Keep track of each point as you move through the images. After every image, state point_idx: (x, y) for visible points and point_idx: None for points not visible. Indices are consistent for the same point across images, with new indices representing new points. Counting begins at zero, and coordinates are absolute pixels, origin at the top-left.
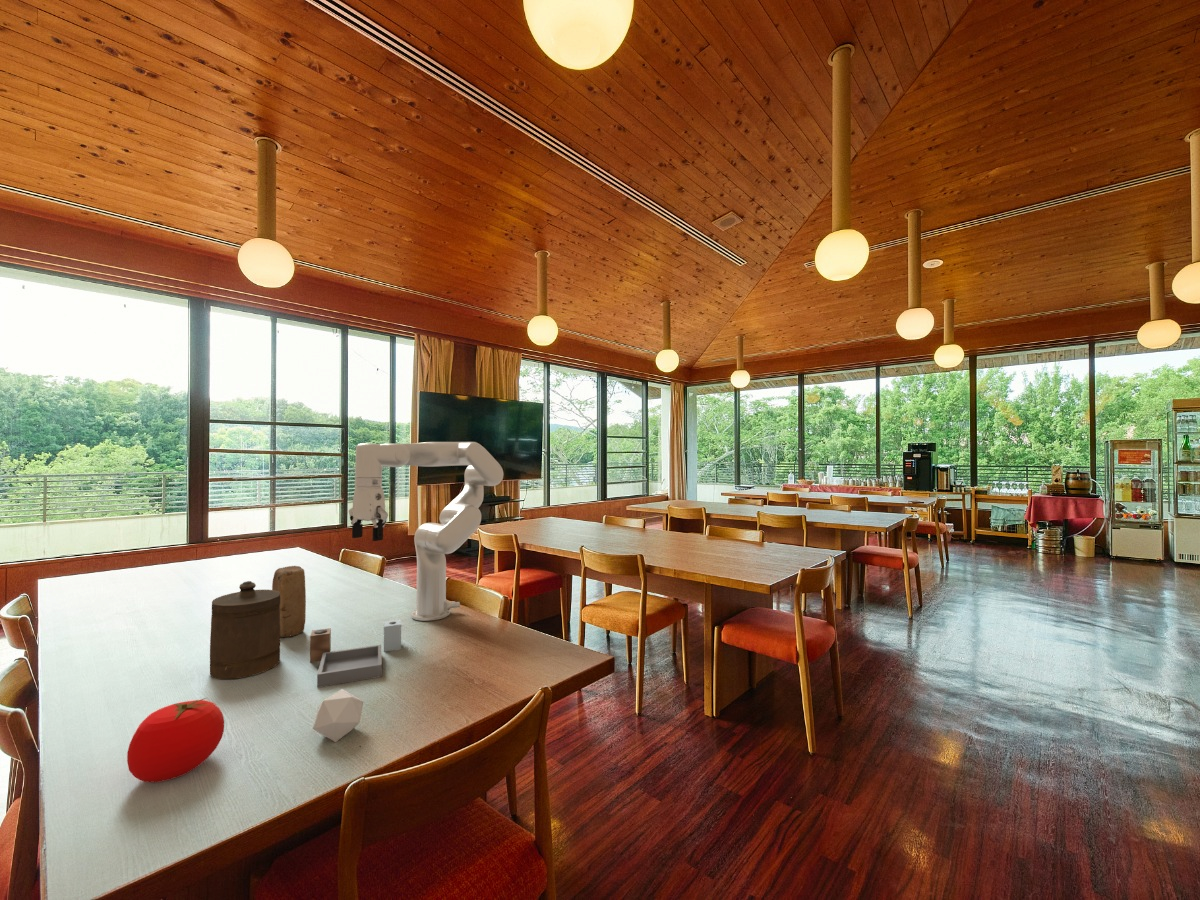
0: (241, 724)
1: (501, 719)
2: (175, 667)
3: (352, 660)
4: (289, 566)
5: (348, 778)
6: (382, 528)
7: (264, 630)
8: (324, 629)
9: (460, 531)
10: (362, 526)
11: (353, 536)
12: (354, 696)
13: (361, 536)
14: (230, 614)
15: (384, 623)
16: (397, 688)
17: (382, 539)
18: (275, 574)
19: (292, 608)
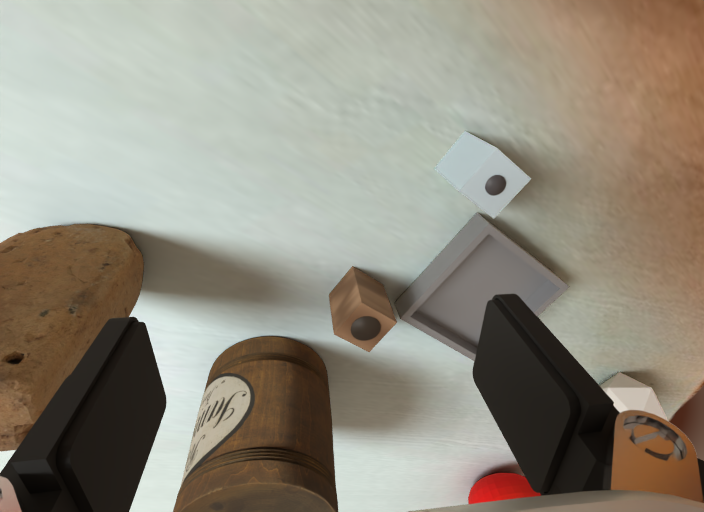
0: (470, 434)
1: None
2: (159, 440)
3: (452, 273)
4: None
5: (672, 411)
6: (593, 390)
7: (332, 444)
8: (355, 315)
9: None
10: (83, 430)
11: (158, 416)
12: (650, 404)
13: (146, 331)
14: None
15: (473, 200)
16: (613, 284)
17: (513, 295)
18: None
19: (117, 317)
